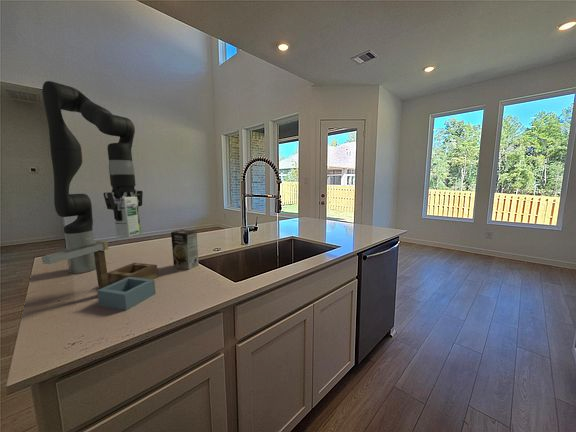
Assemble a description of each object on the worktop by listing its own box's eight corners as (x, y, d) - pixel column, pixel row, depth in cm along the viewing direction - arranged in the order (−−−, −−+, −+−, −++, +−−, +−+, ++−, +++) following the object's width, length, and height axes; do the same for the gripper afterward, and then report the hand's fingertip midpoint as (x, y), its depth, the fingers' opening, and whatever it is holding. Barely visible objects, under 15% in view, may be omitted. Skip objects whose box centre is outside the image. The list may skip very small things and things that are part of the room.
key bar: (42, 264, 67) (40, 255, 67) (100, 248, 83) (99, 241, 82) (51, 265, 66) (49, 256, 66) (108, 249, 82) (107, 241, 81)
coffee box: (173, 267, 108) (170, 232, 105) (184, 262, 114) (181, 229, 111) (188, 270, 104) (186, 233, 102) (199, 265, 110) (197, 230, 108)
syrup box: (129, 237, 88) (124, 197, 85) (115, 236, 89) (111, 197, 87) (141, 233, 93) (137, 196, 91) (128, 233, 94) (124, 196, 92)
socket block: (89, 294, 83) (83, 250, 81) (135, 274, 101) (131, 238, 98) (114, 298, 80) (109, 253, 78) (157, 276, 98) (154, 239, 95)
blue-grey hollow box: (99, 305, 75) (97, 290, 75) (130, 290, 86) (128, 276, 85) (126, 310, 73) (124, 294, 72) (155, 293, 83) (154, 279, 82)
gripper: (131, 174, 95) (135, 216, 98) (93, 173, 82) (100, 222, 84) (146, 173, 93) (150, 216, 96) (110, 173, 80) (116, 223, 82)
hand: (127, 219), depth 90 cm, fingers closed on syrup box, 6 cm apart
